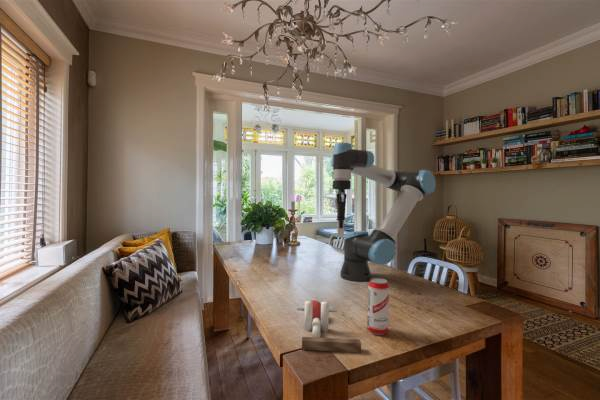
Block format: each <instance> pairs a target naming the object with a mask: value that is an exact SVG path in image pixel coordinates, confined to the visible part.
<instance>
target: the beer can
mask: <svg viewBox="0 0 600 400" xmlns="http://www.w3.org/2000/svg"><path fill="white" fill-rule="evenodd" d="M389 299H390V286H389V284H388V280H387V279H385V278H381V277H373V278H372V277H371V279H370V281H369V283H368V287H367V317H366V318H367V319H366V320H367V321H366V322H367V323H366V328H367V330H368V331H369V333H371V334H372V335H376V336H384V335H385V334H386V333H388V331H389V307H390V306H389V303H390V300H389Z"/></svg>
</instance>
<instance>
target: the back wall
mask: <svg viewBox="0 0 600 400" xmlns="http://www.w3.org/2000/svg"><path fill="white" fill-rule="evenodd" d="M301 350H302V351H321V352H322V351H324V352H344V353H362V342H361V339H359V338H335V337H320V338H317V337H313V336H312V337H311V336H302V338H301Z"/></svg>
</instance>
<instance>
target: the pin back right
mask: <svg viewBox="0 0 600 400" xmlns="http://www.w3.org/2000/svg"><path fill="white" fill-rule="evenodd" d="M320 303H321V317H320V332H323V333H325V332H328V331H329V316H330V315H329V312H330V311H329V309H330V307H329V305H330V303H329V302H328V301H321V302H320Z"/></svg>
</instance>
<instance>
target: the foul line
mask: <svg viewBox="0 0 600 400" xmlns="http://www.w3.org/2000/svg"><path fill="white" fill-rule="evenodd" d="M296 310H297V311H305V307H297V308H296ZM329 312H337V311H336V308H329Z"/></svg>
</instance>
